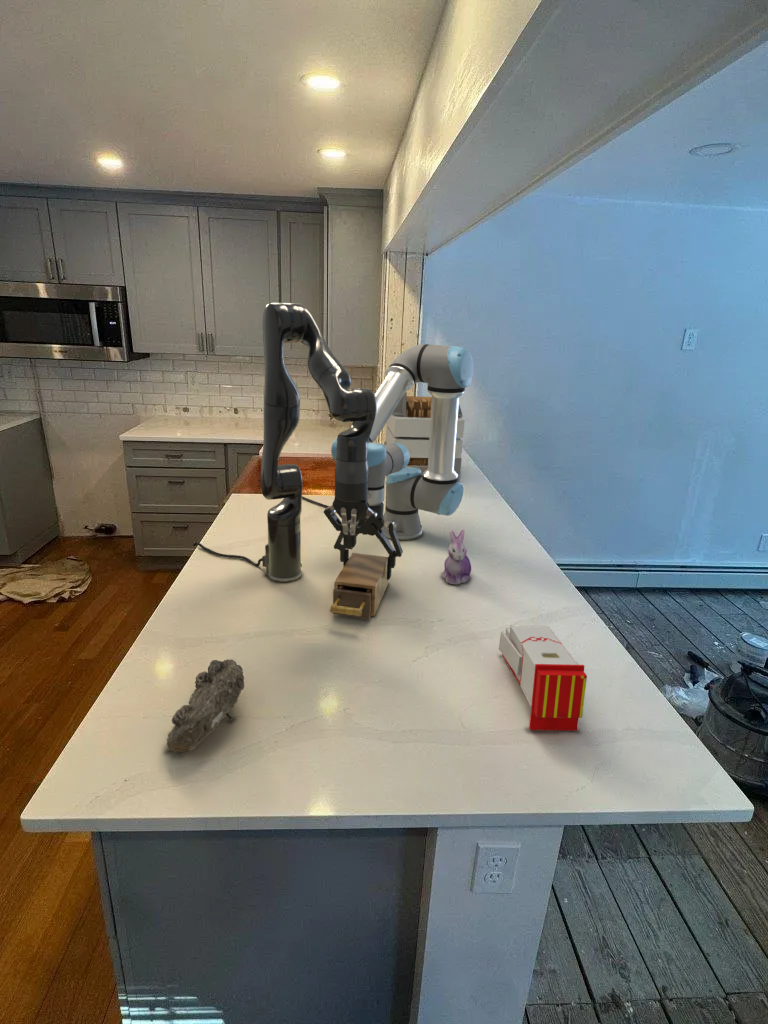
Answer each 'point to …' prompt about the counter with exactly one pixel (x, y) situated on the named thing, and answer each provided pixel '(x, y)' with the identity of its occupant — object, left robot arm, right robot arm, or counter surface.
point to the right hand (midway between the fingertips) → (367, 574)
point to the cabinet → (365, 576)
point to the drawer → (352, 601)
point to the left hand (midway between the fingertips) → (349, 547)
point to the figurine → (457, 560)
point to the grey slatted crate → (418, 430)
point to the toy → (545, 676)
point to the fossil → (206, 705)
